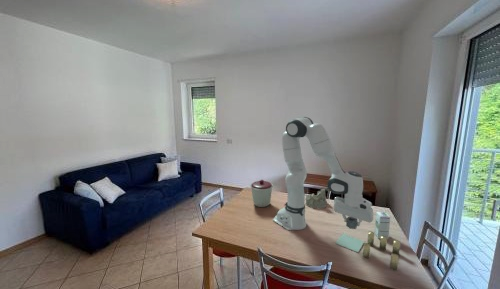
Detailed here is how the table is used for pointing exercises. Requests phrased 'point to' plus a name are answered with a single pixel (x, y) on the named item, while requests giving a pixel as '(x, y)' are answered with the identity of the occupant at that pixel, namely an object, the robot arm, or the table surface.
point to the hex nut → (351, 222)
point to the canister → (261, 193)
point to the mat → (350, 242)
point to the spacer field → (383, 247)
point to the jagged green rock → (317, 200)
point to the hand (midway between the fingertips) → (351, 223)
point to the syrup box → (382, 224)
